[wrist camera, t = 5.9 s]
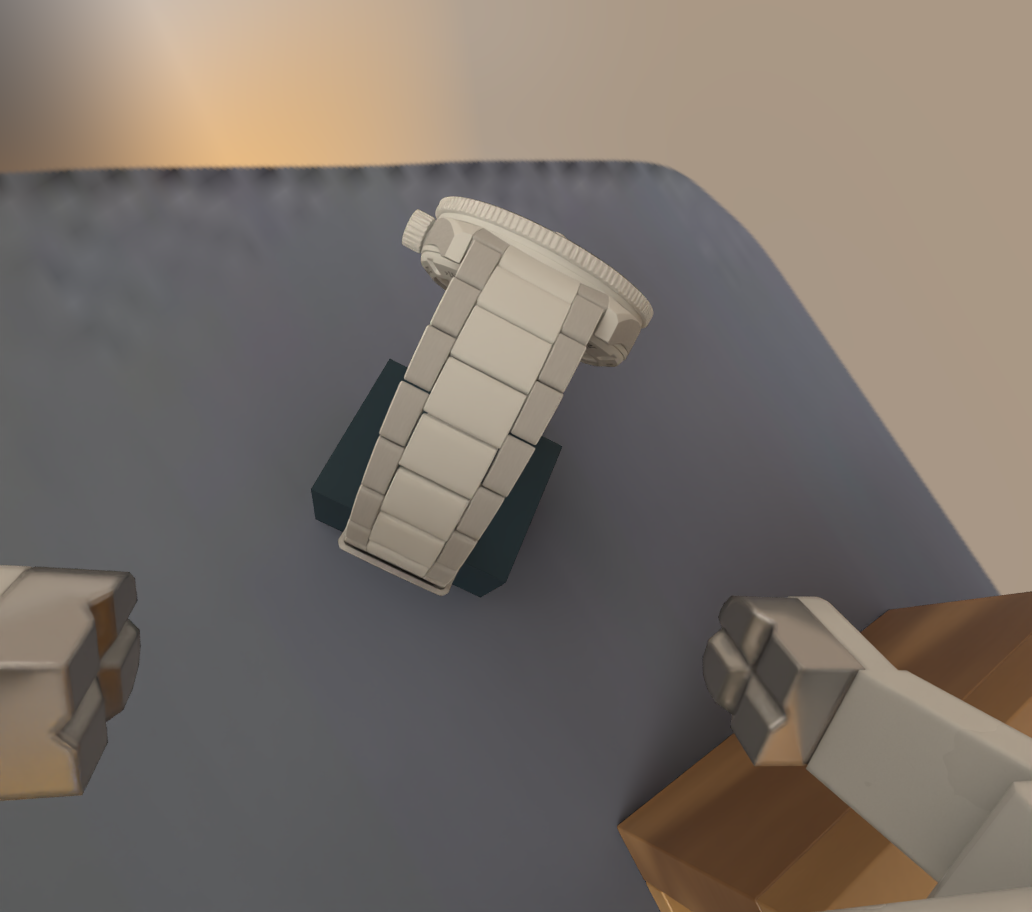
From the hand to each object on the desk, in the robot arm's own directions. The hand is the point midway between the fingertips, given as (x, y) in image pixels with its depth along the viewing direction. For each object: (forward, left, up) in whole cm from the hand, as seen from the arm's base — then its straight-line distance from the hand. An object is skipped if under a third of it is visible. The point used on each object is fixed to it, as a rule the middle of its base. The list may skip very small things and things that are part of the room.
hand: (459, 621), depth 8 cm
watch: (+5, -1, -10) cm, 11 cm away
